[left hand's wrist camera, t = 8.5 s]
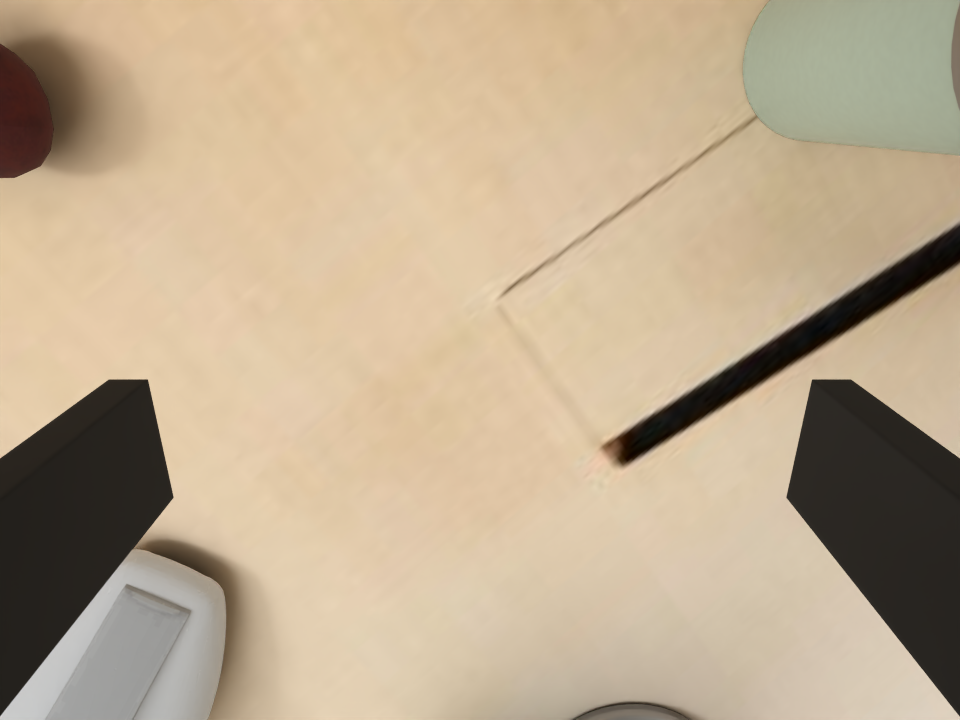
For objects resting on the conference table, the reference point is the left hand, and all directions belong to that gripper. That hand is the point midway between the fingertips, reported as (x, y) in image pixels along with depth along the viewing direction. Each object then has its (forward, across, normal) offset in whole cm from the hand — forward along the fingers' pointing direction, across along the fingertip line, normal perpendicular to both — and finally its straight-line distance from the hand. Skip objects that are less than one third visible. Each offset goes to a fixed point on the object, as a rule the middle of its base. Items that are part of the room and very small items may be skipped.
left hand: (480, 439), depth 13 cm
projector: (+28, +29, +35) cm, 53 cm away
